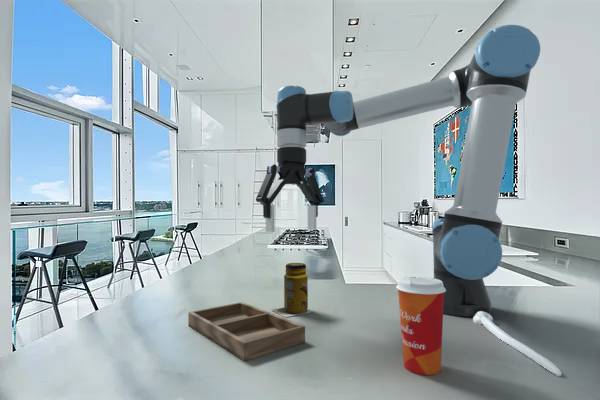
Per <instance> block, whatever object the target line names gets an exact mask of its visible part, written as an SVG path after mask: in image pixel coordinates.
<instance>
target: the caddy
mask: <svg viewBox="0 0 600 400" xmlns="http://www.w3.org/2000/svg"><path fill="white" fill-rule="evenodd" d="M187 318H188V321H187V322H188V324H187V325H188V327H189V328H191V329H193V330H194V331H196V332H197V333H199V334H200V335H201V336H204V337H205V338H207V339H208V340H210V341H212V343H215V344H216V345H217V346H219V347H221V348H222V349H224V350H226V351H227V352H229V353H230V354H232V355H234V356H235V357H237V359H239V360H241V361H243V362H245V361H249V360H252V359H255V358H258V357H262V356H265V355H268V354H270V353H274V352H277V351H280V350H284V349H287V348H290V347H293V346H297V345H300V344H303V343H306V326H305V325H303V324H300V323H297V322H295V321H292V320H289V319H288V318H286V317H283V316H279V315H278V314H277V315H276V314H274V313H271V312H269V311H266V310H264V309H260V308H258V307H256V306H253V305H251V304H248V303H246V302H242V301H240V302H235V303H230V304H225V305H224V304H223V305H220V306H219V305H218V306H214V307H213V306H212V307H209V308H203V309H199V310H193V311H189V312H188V317H187Z"/></svg>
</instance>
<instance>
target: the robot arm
mask: <svg viewBox="0 0 600 400" xmlns="http://www.w3.org/2000/svg"><path fill="white" fill-rule="evenodd" d="M540 54H541V44H540V41H539V38H538V37H537V35H536V34H535V33H534V32H532V31H531V30H530V29H529V28H527V27H525V26H524V25H523V26H522V25H518V24H504V25H500V26H498V27H496V28H493V29H492V30H490V31H489V32H487V33H486V34H485V35H484V36H483V37H482V39H480V41H479V42H478V43H477V46H476V48H475V50H474V54H473V56H472V58H471V60H470V63H469V64H467V65H466V66H464V67H461V68H459V69H457V70H456V69H455V70H452V71H451V72H450V73H449V74H448V75H447V76H445V77H442V78H438V79H433V80H430V81H426V82H423V83H419V84H416V85H411V86H408V87H405V88H401V89H398V90H393V91H389V92H387V93H383V94H379V95H375V96H371V97H368V98H364V99H361V100H357V101H354V98H353V95H352V93H351V91H349V90H334V91H328V92H317V93H310V94H309V93H307V92H306V89H305V87H303V86H299V85H285V86H283V87H281V88H280V89H278V91H277V101H276V123H277V124H276V126H277V127H276V130H277V131H276V133H277V134H276V135H277V136H276V137H277V138H276V139H277V140H276V145H277V148H278V149H277V150H276V162H277V164H278V165H277V164H276V163H275V164H269V165H267V168H266V175H265V176H264V179H263V181H262V183H261V186H260V188H259V191H258V192H257V196H256V198H255V201H256V202H257V203H259V204H260V205H262V209H263V210H262V215H263V218H264V219H265V232H266V233H267V232H268V233H275V230H276V229H275V220H276V219H275V217H276V216H275V215H276V214H275V204H272V203H273V202H274V201H275V199H276V198H277V196H278V195H279V193H281V190H282V189H283V188H284V187H285V185H293V186H294V185H295V186H297V188H298V187H299V190H300V192H301V193H302V194H303V196H304V197H305V199H306V200H307V202H308V204H309V205H307V230H309V231H316V230H317V218H318V216H319V212H318V210H319V206H320V205H321V204H323V203H324V202H325V200H324V196H323V195H322V192H321V189H320V185H319V183H318V181H317V178H316V171H315V168H313V167H311V168H306V166H305V165H306V163H307V149H306V147H307V125H320V124H323V125H324V126H325V127H326V128H327V130H328V131H329V132H330V133H331V134H333V135H335V136H336V137H344V136H347V135H349V134H350V133H351V132H352V131H355V130H358V129H363V128H367V127H371V126H375V125H380V124H384V123H387V122H391V121H396V120H399V119H400V120H401V119H404V118H408V117H411V116H416V115H420V114H424V113H428V112H433V111H437V110H439V109H444V108H448V107H454V108H456V109H461V108H465V107H469V106H470V113H469V117H468V118H469V119H468V124H467V129H466V135H465V140H464V145H463V150H462V157H461V163H460V168H459V171H458V179H457V183H456V189H455V194H454V200H453V205H452V206H451V207H450V208H448V209H447V210H445V211H444V214H443V217H442V218H438V219H435V220H434V221H433V223H432V229H431V231H432V240H433V241H432V246H433V278H434V279H438V280H441V281H442V282H443V286H444V288H445V289H446V291H445V292H444V302H443V314H446V315H449V316H450V315H452V316H460V317H474V316H475V315H476V313H477V312H479V311H483V312H486V313H488V314H490V315H491V314H492V313H493V311H492V309H493V308H492V306H493V305H492V300H491V297H490V295H489V292H488V290H487V287H486V285H485V282H484V278H486V277H487V278H488V277H489V276H490V275H492V274H493V273H494V272H495V271H496V270H497V269H498V267H499V266H500V264H501V262H502V258H503V248H502V244H501V241H500V236H501V230H502V226H503V220H501V217H500V216H499V215H498V214H497V207H498V203H499V196H500V190H501V186H502V180H503V175H504V169H505V165H506V159H507V154H508V150H509V144H510V137H511V131H512V128H513V122H514V116H515V111H516V105H517V104H518V103H519V102H521V100H524V99H525V98H526V95H527V91H528V85H529V80H530V75H531V70H532V69H533V68H534V67H535V66H536V64H537V62H538V60H539V58H540ZM276 175H278V177H277V179H276V180H275V178H276ZM274 181H275V183H274ZM273 183H274V184H273Z"/></svg>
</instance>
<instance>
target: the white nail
mask: <svg viewBox="0 0 600 400" xmlns="http://www.w3.org/2000/svg"><path fill="white" fill-rule="evenodd" d="M493 320H494V318H493V315H491V313H490V314H488V313H486V312H483V311H479V312H477V313H476V315H475V316H473V318H472V321H473V323H474V322H475V323H474V324H476V323H478V324H477V325H481V324H483V325H482V326H484V327H485V328H486V329H487V330H488V331H489V332H490V333H492V334H493V335H494V336H495V337H497V338H498V340H500V339H501V340H502V341H501V340H500V341H501V342H503V341H504V342H506V343H507V344H509V345H511V346H512V347H514V348H516V349H517V350H519V351H520V352H522V353H524V354H525V355H527V356H528V357H530V358H532V359H533V360H535V361H536V362H537V363H539V364H540V365H542V366H543V367H544V368H543V367H542V366H541V367H542V368H543V369H545V368H546V369H547V371H548V372H549V371H550V373H551V372H552V373H551V374H553V373H554V374H556V375H559V376H558V377H562V376H561V375H563V373H562V371H561V370H560V368H558V366H556V365H555V364H554V363H553V362H551V361H550V360H549V359H547V358H546V357H545V356H542V355H541V354H540V353H538V352H536V351H535V350H533V349H532V348H531V347H529V346H527V345H526V344H524V343H522V342H520V341H519V340H518V339H516V338H513V337H512V336H511V335H509V334H508V333H506V332H505V331H503V330H502V329H501V328H500V327H499V326H497V325H496V324H495V323H494V322H493ZM504 342H503V343H504ZM506 343H505V344H506ZM507 344H506V345H507ZM509 345H508V346H509ZM512 347H511V348H512ZM514 348H513V349H514ZM517 350H516V351H517ZM520 352H519V353H520ZM522 353H521V354H522ZM525 355H524V356H525ZM528 357H527V358H528ZM530 358H529V359H530ZM533 360H532V361H533ZM536 362H535V363H536ZM537 363H536V364H537ZM539 364H538V365H539ZM540 365H539V366H540ZM546 369H545V370H546ZM554 374H553V375H554ZM556 375H555V376H556Z"/></svg>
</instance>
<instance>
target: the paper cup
mask: <svg viewBox="0 0 600 400" xmlns="http://www.w3.org/2000/svg"><path fill="white" fill-rule="evenodd" d="M395 288H396V290H397V291H398V294H397V295H398V306H399V319H400V320H399V321H400V334H401V345H402V346H401V347H402V358H403V366H404V368H405V370H407V371H409V372H410V373H412V374H415V375H420V376H435V375H438V374H439V373H441V369H442V368H441V367H442V352H443V351H442V349H443V346H442V345H443V330H444V329H443V323H444V313H443V302H444V292H445V291H446V289H445V288H444V286H443V282H442V281H441V280H438V279H434V277H433V278H432V277H427V276H426V277H425V276H418V277H417V276H409V277H407V276H405V277H400V278H399V279H398V282H397V285H396V287H395Z"/></svg>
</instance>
